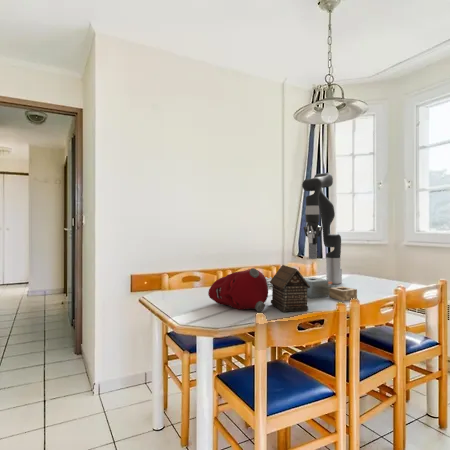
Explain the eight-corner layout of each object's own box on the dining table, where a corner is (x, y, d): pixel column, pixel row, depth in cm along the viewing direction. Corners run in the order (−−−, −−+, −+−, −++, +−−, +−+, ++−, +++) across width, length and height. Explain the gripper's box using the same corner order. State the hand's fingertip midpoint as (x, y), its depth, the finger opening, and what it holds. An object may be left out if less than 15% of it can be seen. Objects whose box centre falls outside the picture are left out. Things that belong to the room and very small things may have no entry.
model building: (311, 311, 159) (310, 268, 159) (282, 313, 156) (281, 269, 156) (295, 302, 176) (295, 263, 176) (269, 304, 174) (268, 264, 173)
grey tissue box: (325, 290, 204) (325, 275, 204) (339, 294, 193) (339, 278, 193) (297, 294, 195) (297, 278, 195) (311, 298, 185) (311, 281, 185)
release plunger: (327, 290, 200) (327, 280, 200) (332, 291, 196) (332, 281, 196) (322, 291, 198) (322, 281, 198) (327, 292, 195) (327, 282, 195)
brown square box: (343, 295, 192) (343, 286, 192) (357, 298, 183) (356, 289, 183) (329, 297, 188) (329, 288, 188) (343, 300, 179) (342, 291, 179)
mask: (198, 275, 171) (244, 269, 151) (232, 269, 190) (277, 263, 171) (204, 316, 169) (251, 315, 149) (238, 305, 188) (284, 304, 168)
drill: (313, 258, 195) (312, 233, 194) (316, 258, 192) (316, 233, 192) (308, 258, 193) (308, 233, 193) (312, 259, 190) (312, 234, 190)
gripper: (326, 213, 187) (326, 244, 188) (309, 214, 200) (309, 243, 200) (315, 213, 184) (315, 245, 184) (299, 214, 197) (299, 243, 197)
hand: (312, 244), depth 192 cm, fingers closed on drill, 3 cm apart
